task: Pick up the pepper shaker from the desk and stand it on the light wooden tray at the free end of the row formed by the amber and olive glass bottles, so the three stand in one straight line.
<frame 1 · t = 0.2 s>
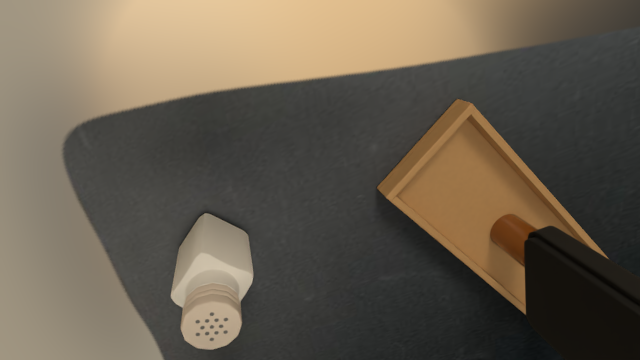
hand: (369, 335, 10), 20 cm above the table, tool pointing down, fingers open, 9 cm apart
tray: (502, 227, 36), on the table
pepper shaker: (213, 238, 30), on the table
amber bottle: (505, 229, 36), resting on tray
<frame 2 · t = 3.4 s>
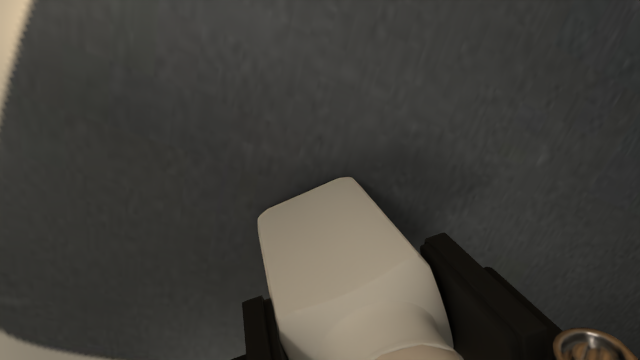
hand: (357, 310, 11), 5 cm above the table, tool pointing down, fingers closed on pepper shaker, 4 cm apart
pepper shaker: (317, 228, 16), on the table, touching gripper
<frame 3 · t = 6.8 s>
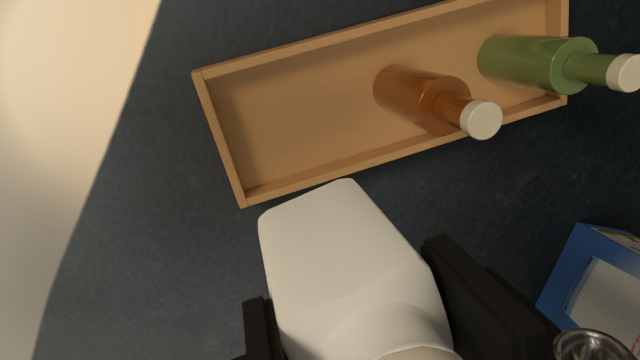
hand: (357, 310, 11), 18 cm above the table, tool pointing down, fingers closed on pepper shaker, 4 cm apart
tray: (391, 86, 28), on the table
pepper shaker: (317, 229, 16), point 13 cm above the table, touching gripper
olive bottle: (496, 57, 29), resting on tray
milk carton: (576, 268, 40), on the table
amber bottle: (393, 87, 28), resting on tray
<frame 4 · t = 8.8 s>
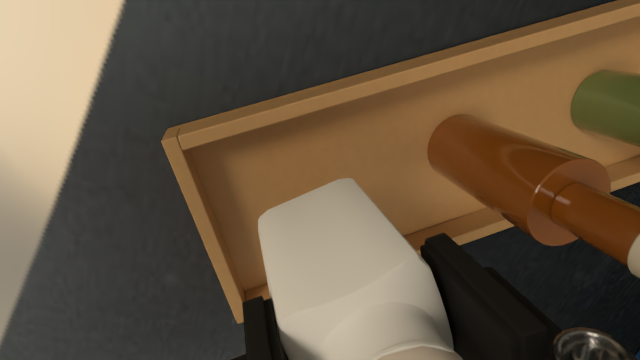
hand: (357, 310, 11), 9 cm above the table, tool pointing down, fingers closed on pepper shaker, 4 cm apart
tray: (451, 143, 20), on the table
pepper shaker: (317, 229, 16), point 4 cm above the table, touching gripper
olive bottle: (596, 101, 21), resting on tray
amber bottle: (456, 146, 20), resting on tray
when the fingers open (5 cm above the table, at t = 10.1 s): pepper shaker stays where it is, resting on tray.
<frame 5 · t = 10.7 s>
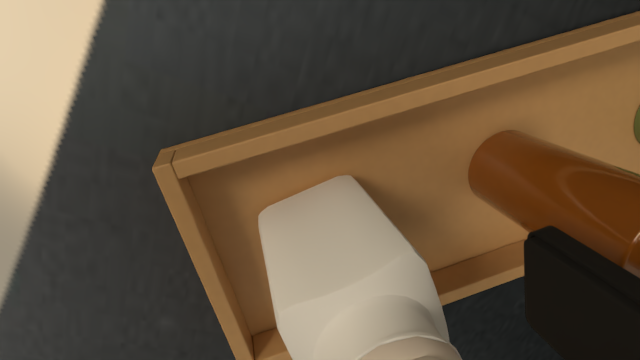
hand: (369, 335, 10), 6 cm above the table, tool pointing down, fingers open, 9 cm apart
tray: (494, 163, 17), on the table
pepper shaker: (317, 225, 16), resting on tray
amber bottle: (501, 167, 17), point 1 cm above the table, touching tray
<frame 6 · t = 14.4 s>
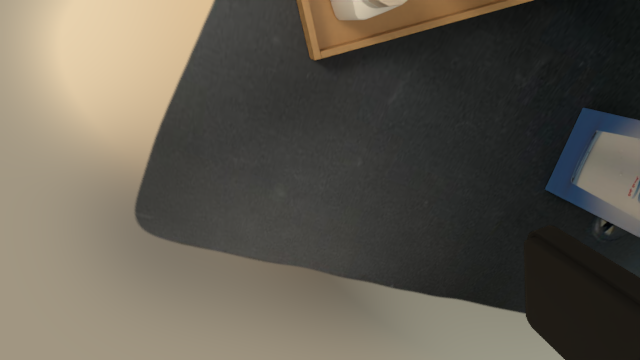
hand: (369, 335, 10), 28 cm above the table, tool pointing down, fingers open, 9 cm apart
milk carton: (582, 154, 46), on the table
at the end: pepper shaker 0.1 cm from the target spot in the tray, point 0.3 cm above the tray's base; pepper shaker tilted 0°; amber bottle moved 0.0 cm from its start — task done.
